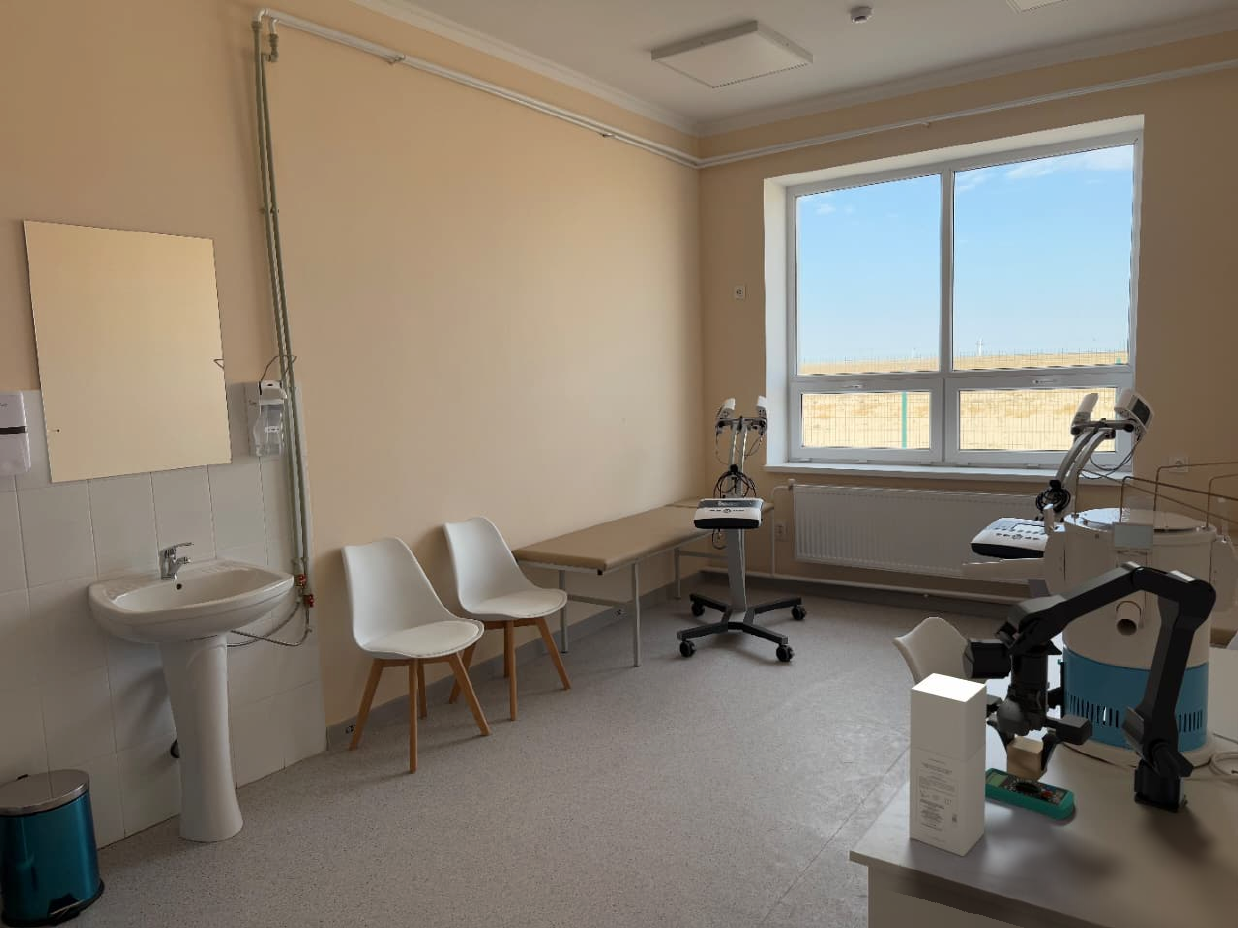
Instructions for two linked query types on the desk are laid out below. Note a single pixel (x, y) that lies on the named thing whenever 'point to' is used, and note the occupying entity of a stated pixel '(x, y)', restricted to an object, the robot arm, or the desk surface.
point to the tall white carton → (948, 762)
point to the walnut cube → (1025, 758)
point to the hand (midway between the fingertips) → (1027, 764)
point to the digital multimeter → (1029, 794)
